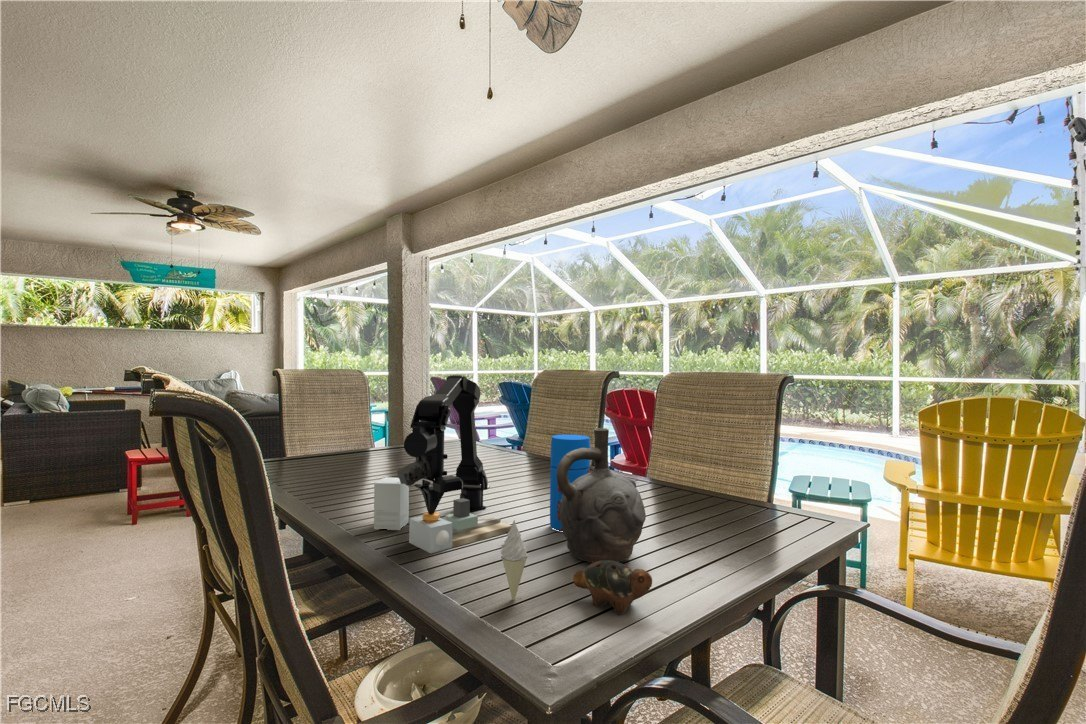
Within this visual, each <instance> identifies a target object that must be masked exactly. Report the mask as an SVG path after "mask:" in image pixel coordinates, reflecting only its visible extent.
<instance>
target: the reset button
mask: <svg viewBox="0 0 1086 724" xmlns="http://www.w3.org/2000/svg"><path fill="white" fill-rule="evenodd" d="M422 516H423V520H426V523H428V524H429V523H433V522H436V520H437V519H439V517H440V513H439V512H438V511H435V512H434V514H428V511H427V512H423V513H422Z"/></svg>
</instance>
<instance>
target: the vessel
mask: <svg viewBox="0 0 1086 724" xmlns="http://www.w3.org/2000/svg"><path fill="white" fill-rule="evenodd" d="M593 429H594V430H593V433H594V448H591V447H590V448H580V449H576V450H573V451H571V452H569V453H567V454H566V455H565V456H564V457H563V458H562V460H561V461H560V463H559V465H558V469H557V484H558V486H559V488H560V490H561V491H562V493H563V496H562V500H561V501H560V504H559V509H558V511H559V516H560V519H561V525H562V529H563V532H564V533H563V535H564V537H565V539H566V547H567V549H568V551H569V552H568V553H570V554H571V555H572V556H573V557H574V558H577V560H578V559H579V560H581V561H584V562H588V563H591V564H592V563H594V562H597V561H602V560H611V561H616V562H619V563H620V562H624V561H626V560H628V559H629V558H630V557H631V556H632V554H633V550H634V546H635V545H636V543H637V542H638V541H639V538H640V537H641V535H642V532H643V526H644V524H645V522H646V515H647V514H646V509H645V505H644V502H643V498H642V496H641V493H640V491H639V490H638V489H637V484H636V482H635V480H633V479H631V478H629V477H627V476H625V475H621V474H618V473H614V472H612V471H611V469H610V467H609V436H610V435H609V429H608V428H605V427H603V428H602V427H601V428H599V427H597V428H593ZM583 459H587V460H590V461H594V468H593V470H592V471H590V473H588V474H585V475H583V476H581V477H579V478H577V479H576V480H575V481H574V482H573V483H570V482H569V480H568V470H569V468H570V466H571V465H572V464H573V463H574V462H575V461H577V460H583Z"/></svg>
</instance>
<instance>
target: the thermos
mask: <svg viewBox="0 0 1086 724" xmlns="http://www.w3.org/2000/svg"><path fill="white" fill-rule="evenodd" d="M550 439H551V441H550V475H549V476H550V478H549V479H550V480H549V481H550V482H549V487H550V489H549V491H550V493H549V495H550V496H549V519H550V520H549V526H551V527H552V528H554V529H556V530H559V531H563V529H562V525H561V519H560V516H559V511H558V509H559V504H560V501H561V500H562V496H563V493H562V491H561V490H560V488H559V486H558V484H557V469H558V465H559V463H560V461H561V460H562V458H563V457H564V456H565V455H566V454H567V453H569V452H571V451H573V450H576V449H580V448H591V439H590V437H589V435H583V434H581V435H580V434H555V435H552V436H551V438H550ZM588 473H591V460H587V459H583V460H577V461H575V462H574V463H573V464H572V465H571V466H570V468H569V470H568V480H569V482H570V483H573V482H574V481H575V480H576V479H577V478H579V477H581V476H583V475H585V474H588ZM551 527H550V528H551Z"/></svg>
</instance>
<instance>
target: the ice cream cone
mask: <svg viewBox="0 0 1086 724" xmlns="http://www.w3.org/2000/svg"><path fill="white" fill-rule="evenodd" d="M511 525H512V527H511V529H510V531H509V532H507V534H506V536H507V537H506V539H505V540H504V541H503V543H502V545H501V550H500V554H501V556H500V558H501V561H502V564H503V568H504V572H505V576H506V580H507V584H508V588H509V592H510V597H511V600H512V601H514V600H516V596H517V593H518V590H519V586H520V582H521V580H522V577H523V576H522V575H523V572H524V569H525V565H526V562H527V559H528V554H527V547H526V546H527V545H526V543H525V541H524V540H522V537H521V536H522V534H521V533H520V531H519V529H518V526H517V524H516V520H513V521H512V524H511Z"/></svg>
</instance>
